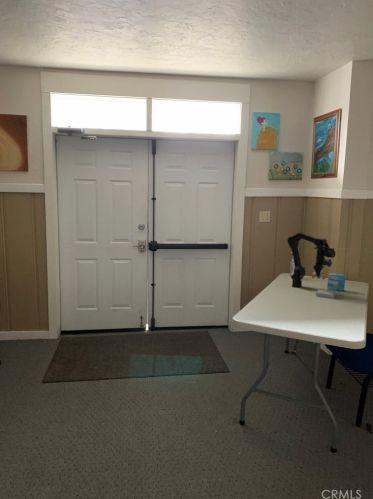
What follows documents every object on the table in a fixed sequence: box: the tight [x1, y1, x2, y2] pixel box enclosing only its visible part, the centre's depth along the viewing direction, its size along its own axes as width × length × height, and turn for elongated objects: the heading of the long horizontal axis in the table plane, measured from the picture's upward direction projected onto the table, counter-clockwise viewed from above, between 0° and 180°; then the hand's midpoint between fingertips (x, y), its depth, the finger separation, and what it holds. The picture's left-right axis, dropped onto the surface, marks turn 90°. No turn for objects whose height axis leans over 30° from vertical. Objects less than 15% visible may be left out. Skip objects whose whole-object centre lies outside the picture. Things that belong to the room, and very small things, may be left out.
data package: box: [326, 272, 346, 292], centre depth 301 cm, size 12×4×12 cm, turn 64°
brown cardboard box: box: [311, 271, 327, 280], centre depth 291 cm, size 9×5×4 cm, turn 63°
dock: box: [315, 289, 337, 300], centre depth 284 cm, size 12×10×4 cm
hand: (318, 276), depth 292 cm, fingers closed on brown cardboard box, 5 cm apart
